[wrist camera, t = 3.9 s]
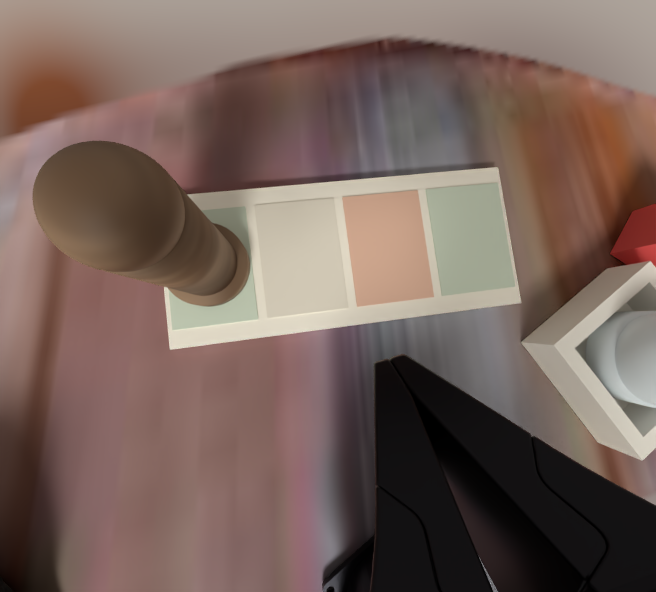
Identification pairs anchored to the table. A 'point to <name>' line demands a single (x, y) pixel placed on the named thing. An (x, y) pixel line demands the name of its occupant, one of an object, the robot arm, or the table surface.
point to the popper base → (570, 357)
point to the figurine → (4, 586)
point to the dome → (626, 356)
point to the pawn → (136, 223)
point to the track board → (356, 255)
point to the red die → (638, 238)
